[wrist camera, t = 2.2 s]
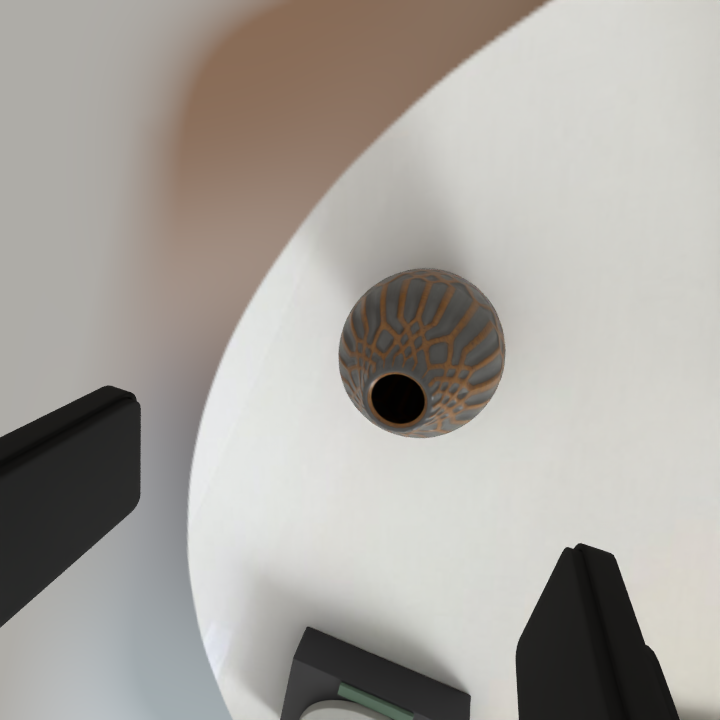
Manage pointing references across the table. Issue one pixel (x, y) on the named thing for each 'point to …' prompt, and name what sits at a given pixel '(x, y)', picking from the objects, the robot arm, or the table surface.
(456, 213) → the table surface
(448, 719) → the scale
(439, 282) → the vase
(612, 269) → the table surface
